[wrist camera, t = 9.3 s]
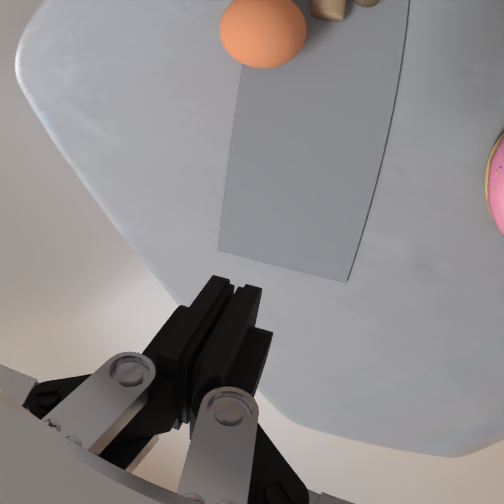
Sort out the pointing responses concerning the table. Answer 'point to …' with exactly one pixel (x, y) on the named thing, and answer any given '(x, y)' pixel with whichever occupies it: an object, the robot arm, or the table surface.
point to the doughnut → (496, 183)
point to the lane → (313, 142)
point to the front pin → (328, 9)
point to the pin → (366, 3)
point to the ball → (262, 32)
